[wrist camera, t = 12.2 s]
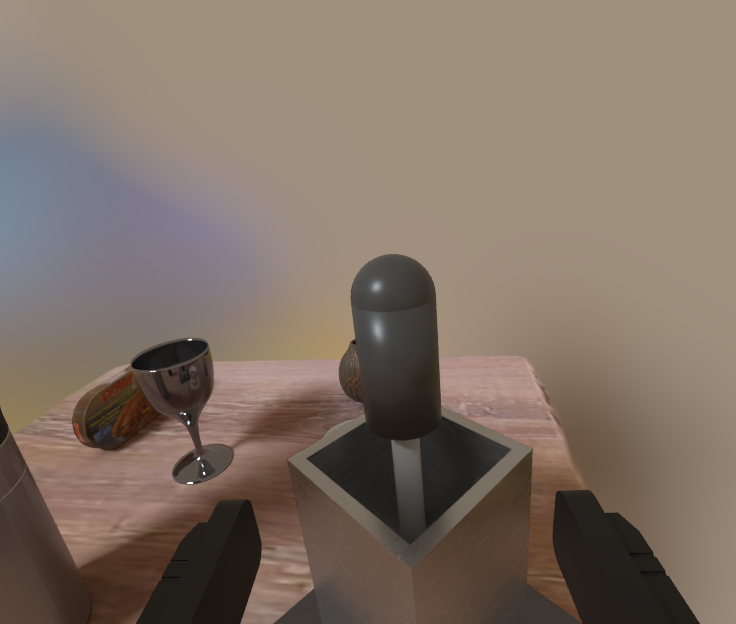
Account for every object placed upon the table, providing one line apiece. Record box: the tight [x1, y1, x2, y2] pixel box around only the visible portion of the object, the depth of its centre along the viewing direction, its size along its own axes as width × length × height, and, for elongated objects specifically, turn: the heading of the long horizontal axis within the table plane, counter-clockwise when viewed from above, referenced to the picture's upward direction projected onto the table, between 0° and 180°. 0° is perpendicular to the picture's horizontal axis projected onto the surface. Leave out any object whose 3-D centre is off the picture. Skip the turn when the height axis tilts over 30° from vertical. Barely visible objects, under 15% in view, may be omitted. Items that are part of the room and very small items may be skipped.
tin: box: [72, 366, 161, 450], centre depth 58 cm, size 15×3×8 cm, turn 164°
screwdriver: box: [351, 254, 442, 545], centre depth 24 cm, size 8×8×25 cm
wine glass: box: [131, 338, 233, 484], centre depth 47 cm, size 8×8×15 cm
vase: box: [339, 339, 363, 402], centre depth 59 cm, size 7×7×9 cm
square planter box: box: [274, 407, 582, 624], centre depth 26 cm, size 16×16×16 cm
